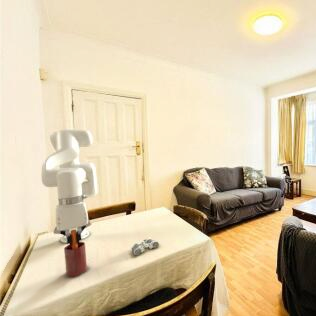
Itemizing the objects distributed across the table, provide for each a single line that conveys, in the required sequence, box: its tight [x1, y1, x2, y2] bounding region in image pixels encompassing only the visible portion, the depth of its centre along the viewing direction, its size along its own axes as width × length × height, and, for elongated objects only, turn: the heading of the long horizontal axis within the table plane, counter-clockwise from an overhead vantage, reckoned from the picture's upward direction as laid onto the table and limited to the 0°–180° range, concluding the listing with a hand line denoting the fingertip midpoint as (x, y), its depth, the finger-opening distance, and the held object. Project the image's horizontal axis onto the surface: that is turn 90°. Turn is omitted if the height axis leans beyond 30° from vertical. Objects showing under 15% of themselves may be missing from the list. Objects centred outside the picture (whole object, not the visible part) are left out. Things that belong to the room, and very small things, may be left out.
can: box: [63, 241, 88, 278], centre depth 84 cm, size 7×7×12 cm
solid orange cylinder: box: [71, 230, 78, 250], centre depth 84 cm, size 2×2×12 cm
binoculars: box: [130, 237, 160, 256], centre depth 103 cm, size 12×8×4 cm, turn 139°
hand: (74, 243), depth 84 cm, fingers closed on solid orange cylinder, 1 cm apart
